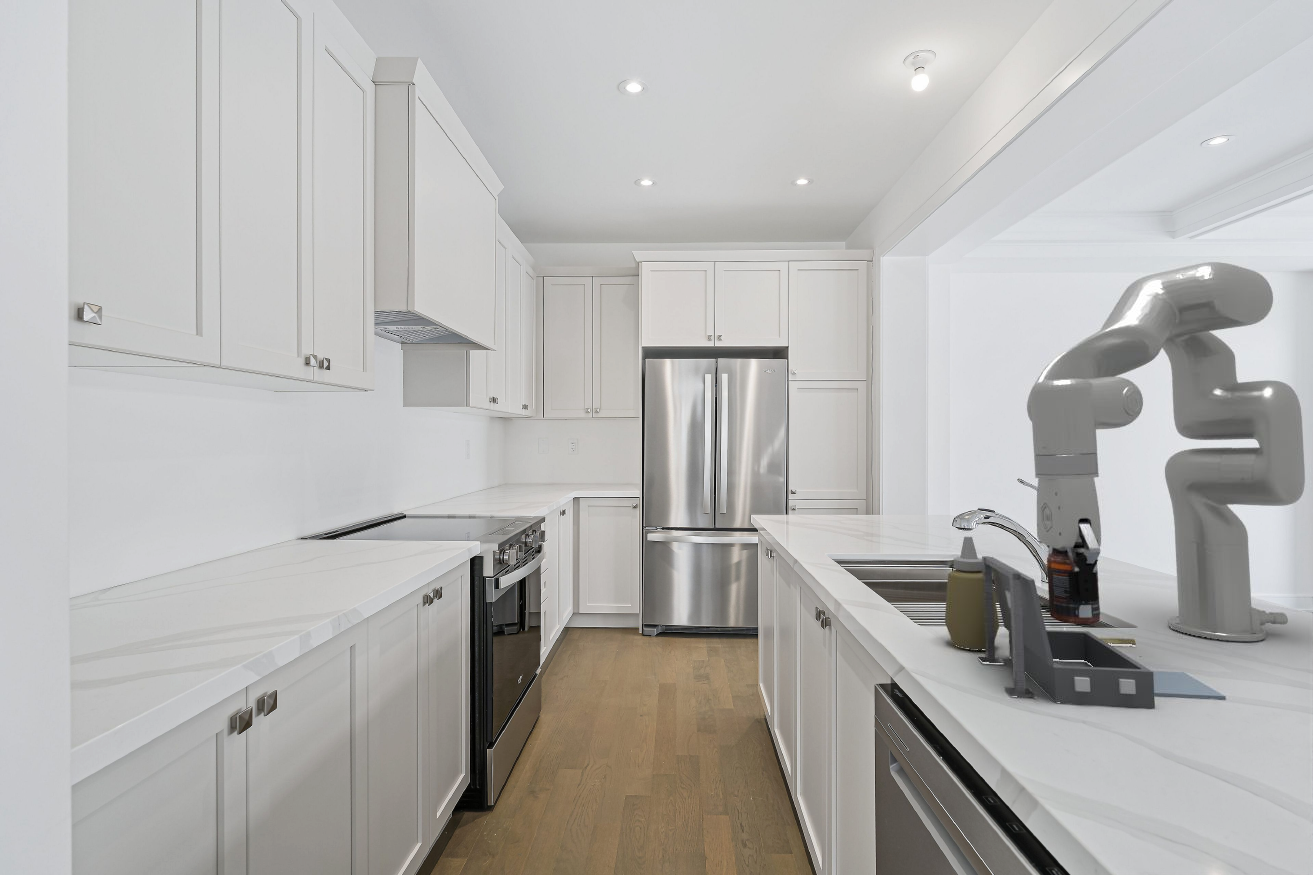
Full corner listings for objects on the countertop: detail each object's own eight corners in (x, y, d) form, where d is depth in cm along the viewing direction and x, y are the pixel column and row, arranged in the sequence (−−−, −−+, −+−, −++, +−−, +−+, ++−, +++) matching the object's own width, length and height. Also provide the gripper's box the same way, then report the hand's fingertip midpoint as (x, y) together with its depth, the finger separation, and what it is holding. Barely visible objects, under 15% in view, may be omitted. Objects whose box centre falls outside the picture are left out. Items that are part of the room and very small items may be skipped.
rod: (1136, 645, 101) (1133, 649, 102) (1133, 637, 102) (1130, 641, 103) (1053, 642, 104) (1051, 646, 105) (1051, 634, 105) (1048, 638, 106)
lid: (992, 556, 99) (986, 557, 99) (1034, 579, 81) (1026, 580, 81) (1008, 626, 98) (1002, 627, 98) (1054, 664, 81) (1046, 665, 81)
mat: (1183, 674, 89) (1183, 672, 89) (1225, 699, 80) (1225, 696, 80) (1111, 671, 91) (1111, 668, 91) (1144, 695, 82) (1144, 692, 82)
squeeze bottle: (988, 657, 99) (983, 541, 99) (936, 646, 105) (932, 537, 105) (1008, 646, 104) (1003, 536, 104) (958, 636, 110) (954, 532, 110)
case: (1089, 661, 96) (1088, 631, 96) (1156, 709, 78) (1155, 672, 78) (1009, 657, 98) (1008, 628, 98) (1057, 704, 80) (1055, 668, 80)
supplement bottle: (1102, 627, 85) (1097, 543, 85) (1050, 623, 88) (1045, 541, 88) (1099, 616, 90) (1094, 536, 90) (1049, 612, 93) (1045, 535, 93)
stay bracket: (999, 659, 97) (994, 555, 98) (1035, 698, 82) (1030, 574, 83) (977, 659, 98) (973, 555, 98) (1010, 696, 83) (1005, 574, 83)
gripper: (1015, 465, 98) (1022, 581, 98) (1060, 471, 81) (1069, 611, 81) (1069, 463, 97) (1076, 581, 96) (1127, 468, 80) (1135, 611, 79)
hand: (1073, 593), depth 89 cm, fingers closed on supplement bottle, 6 cm apart
